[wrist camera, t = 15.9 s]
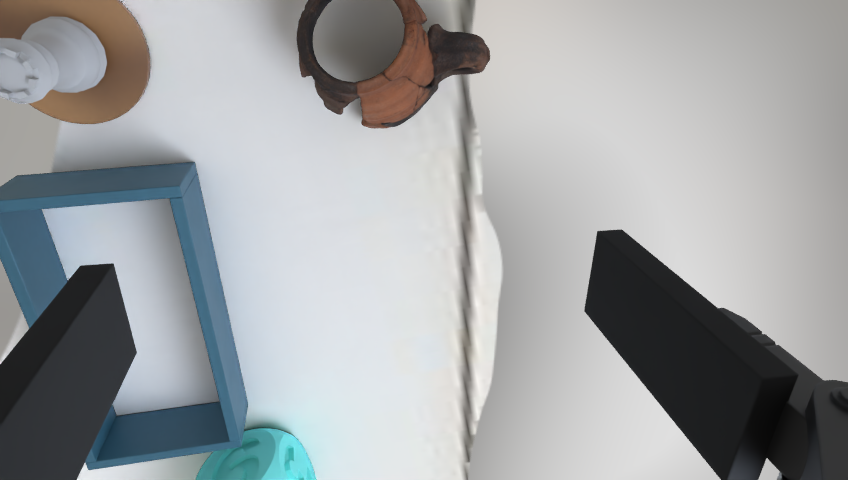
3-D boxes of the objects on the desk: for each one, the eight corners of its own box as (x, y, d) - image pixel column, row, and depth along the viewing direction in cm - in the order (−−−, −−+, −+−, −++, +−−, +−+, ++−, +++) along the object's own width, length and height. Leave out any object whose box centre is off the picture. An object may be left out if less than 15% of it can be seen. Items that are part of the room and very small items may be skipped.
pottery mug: (332, 143, 41) (290, 121, 32) (320, 16, 40) (275, -38, 32) (495, 123, 39) (494, 95, 31) (483, -9, 39) (478, -73, 31)
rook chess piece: (91, 103, 36) (36, 135, 29) (17, 63, 34) (-61, 86, 27) (121, 44, 35) (72, 62, 27) (46, -1, 33) (-27, 6, 26)
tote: (16, 175, 37) (-24, 202, 33) (195, 161, 39) (179, 185, 34) (109, 424, 47) (88, 470, 43) (248, 404, 49) (241, 447, 44)
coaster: (-34, -25, 32) (-38, -25, 32) (130, -30, 33) (128, -30, 33) (20, 127, 36) (17, 128, 36) (165, 118, 37) (163, 119, 37)
